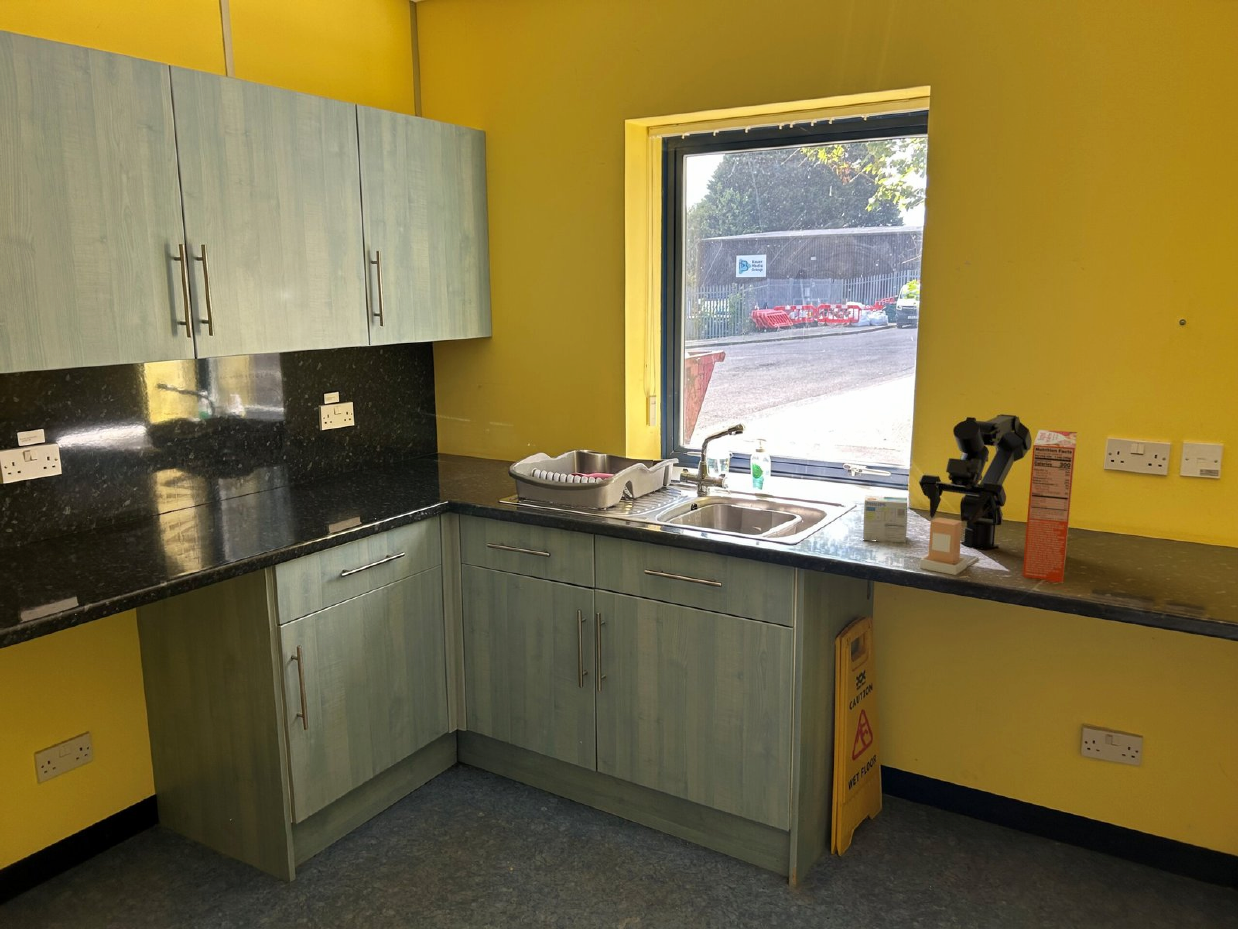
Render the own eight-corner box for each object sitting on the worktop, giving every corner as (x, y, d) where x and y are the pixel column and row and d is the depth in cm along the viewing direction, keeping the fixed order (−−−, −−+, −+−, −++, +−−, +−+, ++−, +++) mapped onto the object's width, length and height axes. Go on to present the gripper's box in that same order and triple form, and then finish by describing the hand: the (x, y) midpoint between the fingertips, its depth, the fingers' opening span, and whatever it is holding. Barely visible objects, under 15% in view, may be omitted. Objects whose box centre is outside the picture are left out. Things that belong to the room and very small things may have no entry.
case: (931, 562, 217) (932, 552, 217) (966, 569, 212) (967, 558, 212) (919, 569, 212) (920, 559, 211) (955, 576, 207) (956, 565, 206)
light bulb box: (905, 537, 239) (908, 496, 237) (906, 544, 233) (908, 502, 230) (862, 534, 242) (864, 494, 240) (862, 541, 235) (864, 500, 233)
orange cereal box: (1029, 551, 226) (1039, 429, 220) (1065, 555, 222) (1076, 432, 216) (1022, 578, 206) (1033, 444, 200) (1062, 583, 202) (1074, 447, 196)
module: (935, 563, 215) (938, 517, 213) (958, 567, 212) (962, 520, 210) (927, 567, 212) (930, 521, 210) (951, 572, 208) (954, 525, 206)
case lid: (944, 554, 223) (944, 549, 223) (978, 560, 218) (978, 556, 218) (931, 562, 217) (932, 557, 217) (966, 568, 212) (966, 563, 212)
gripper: (924, 440, 219) (903, 494, 212) (1006, 449, 207) (986, 506, 201) (934, 468, 226) (914, 521, 220) (1014, 478, 215) (995, 534, 208)
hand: (951, 520), depth 212 cm, fingers open, 9 cm apart
